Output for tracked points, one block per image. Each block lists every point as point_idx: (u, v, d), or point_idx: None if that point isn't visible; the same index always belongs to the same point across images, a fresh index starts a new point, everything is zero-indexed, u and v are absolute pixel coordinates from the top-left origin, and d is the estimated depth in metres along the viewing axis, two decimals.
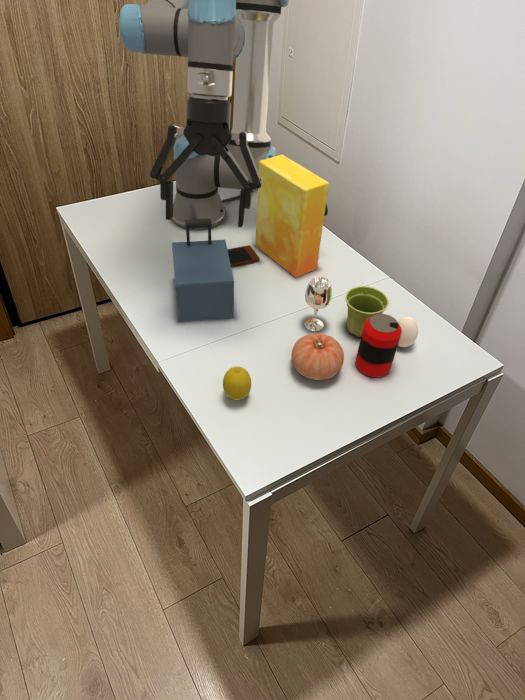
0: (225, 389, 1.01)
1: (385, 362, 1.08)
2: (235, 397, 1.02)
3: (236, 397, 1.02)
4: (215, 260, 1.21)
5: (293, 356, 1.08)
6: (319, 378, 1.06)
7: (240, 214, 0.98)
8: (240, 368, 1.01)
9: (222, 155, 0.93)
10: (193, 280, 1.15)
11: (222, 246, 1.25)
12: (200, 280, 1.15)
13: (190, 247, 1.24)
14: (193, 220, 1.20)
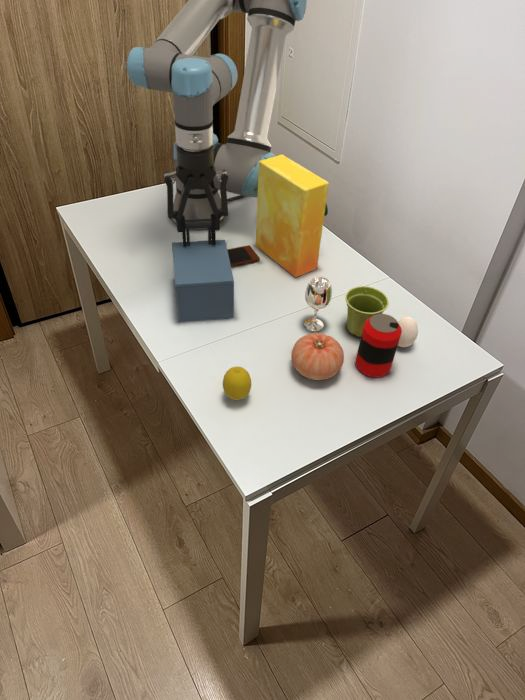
0: (225, 389, 1.01)
1: (385, 362, 1.08)
2: (235, 397, 1.02)
3: (236, 397, 1.02)
4: (215, 260, 1.21)
5: (293, 356, 1.08)
6: (319, 378, 1.06)
7: (213, 236, 1.22)
8: (240, 368, 1.01)
9: (206, 191, 1.14)
10: (193, 280, 1.15)
11: (222, 246, 1.25)
12: (200, 280, 1.15)
13: (190, 247, 1.24)
14: (193, 220, 1.20)
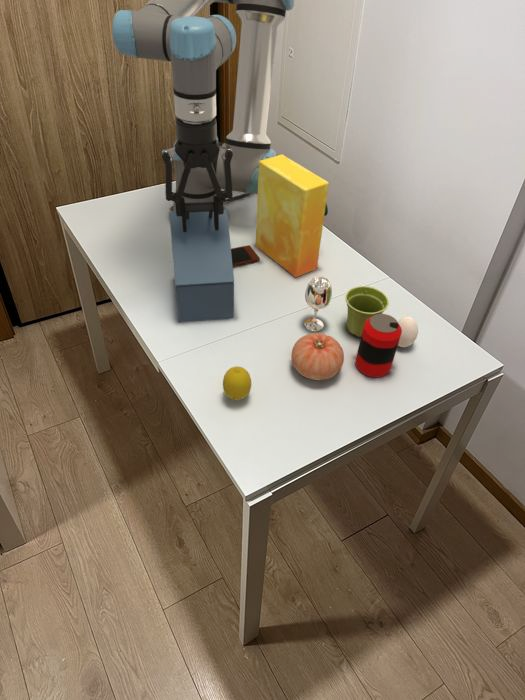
0: (225, 389, 1.01)
1: (385, 362, 1.08)
2: (235, 397, 1.02)
3: (236, 397, 1.02)
4: (216, 246, 1.16)
5: (293, 356, 1.08)
6: (319, 378, 1.06)
7: (216, 220, 1.11)
8: (240, 368, 1.01)
9: (208, 169, 1.03)
10: (193, 279, 1.14)
11: (223, 222, 1.17)
12: (200, 279, 1.14)
13: (190, 223, 1.16)
14: (195, 206, 1.09)
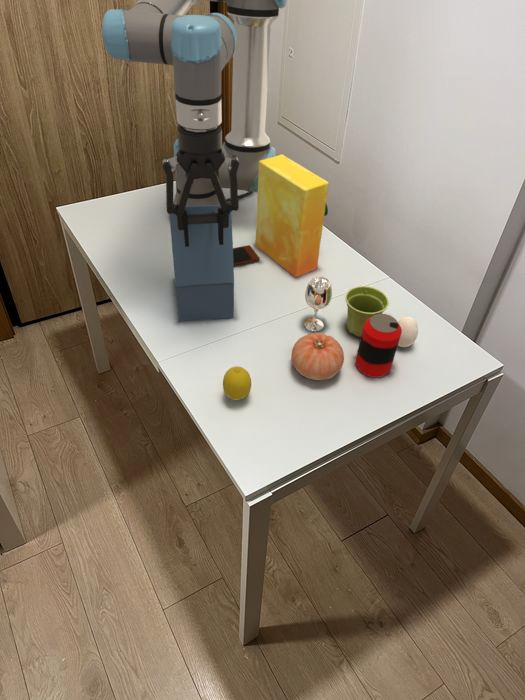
0: (225, 389, 1.01)
1: (385, 362, 1.08)
2: (235, 397, 1.02)
3: (236, 397, 1.02)
4: (218, 246, 1.11)
5: (293, 356, 1.08)
6: (319, 378, 1.06)
7: (221, 234, 1.04)
8: (240, 368, 1.01)
9: (212, 180, 0.95)
10: (193, 280, 1.13)
11: None
12: (200, 280, 1.14)
13: None
14: (198, 220, 1.02)
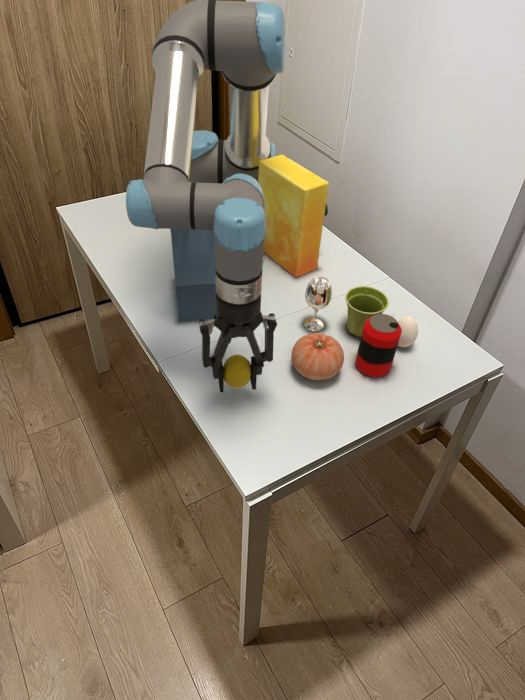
0: (225, 377, 1.00)
1: (385, 362, 1.08)
2: (235, 385, 1.00)
3: (236, 385, 1.00)
4: None
5: (293, 356, 1.08)
6: (319, 378, 1.06)
7: (254, 381, 1.02)
8: (240, 356, 0.99)
9: (249, 339, 0.93)
10: (193, 280, 1.13)
11: None
12: (200, 280, 1.14)
13: None
14: None
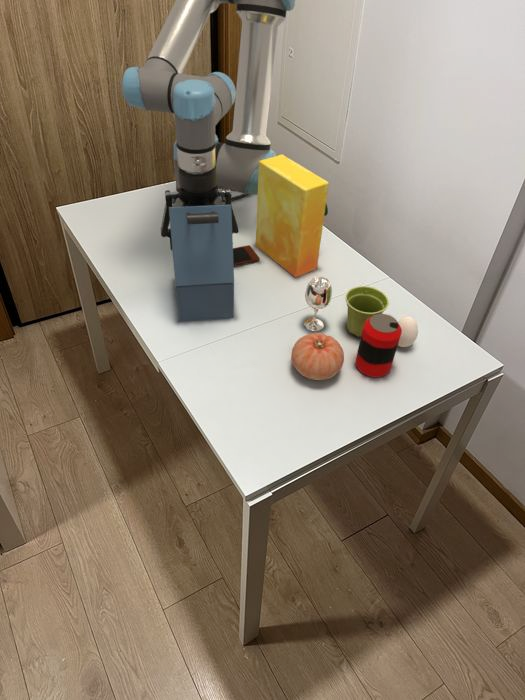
0: None
1: (385, 362, 1.08)
2: None
3: None
4: (218, 246, 1.11)
5: (293, 356, 1.08)
6: (319, 378, 1.06)
7: None
8: None
9: None
10: (193, 280, 1.13)
11: (226, 219, 1.10)
12: (200, 280, 1.14)
13: None
14: (198, 220, 1.02)
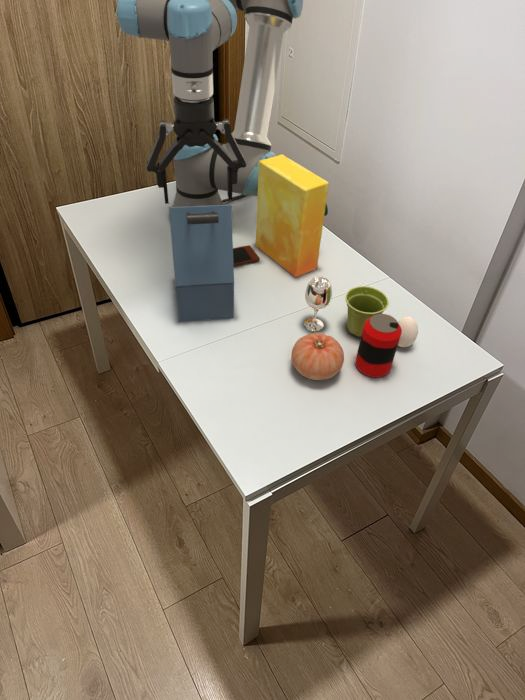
0: None
1: (385, 362, 1.08)
2: None
3: None
4: (218, 246, 1.11)
5: (293, 356, 1.08)
6: (319, 378, 1.06)
7: (230, 190, 1.13)
8: None
9: (211, 145, 1.05)
10: (193, 280, 1.13)
11: (226, 219, 1.10)
12: (200, 280, 1.14)
13: None
14: (198, 220, 1.02)
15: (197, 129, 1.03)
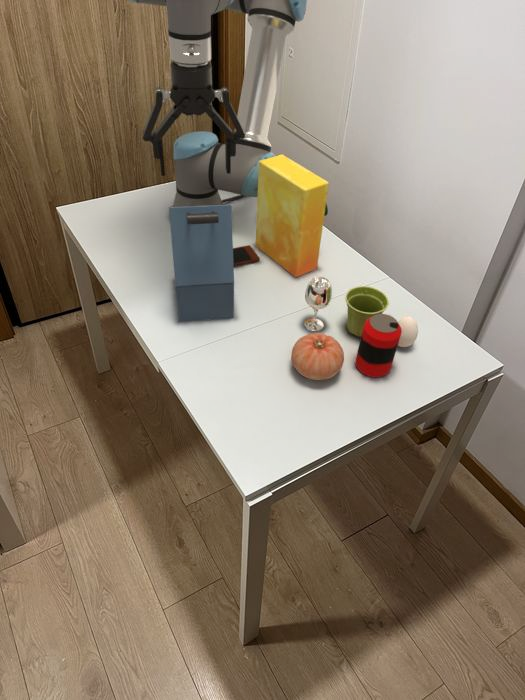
0: None
1: (385, 362, 1.08)
2: None
3: None
4: (218, 246, 1.11)
5: (293, 356, 1.08)
6: (319, 378, 1.06)
7: (228, 162, 1.10)
8: None
9: (209, 114, 1.03)
10: (193, 280, 1.13)
11: (226, 219, 1.10)
12: (200, 280, 1.14)
13: None
14: (198, 220, 1.02)
15: (194, 96, 1.01)
